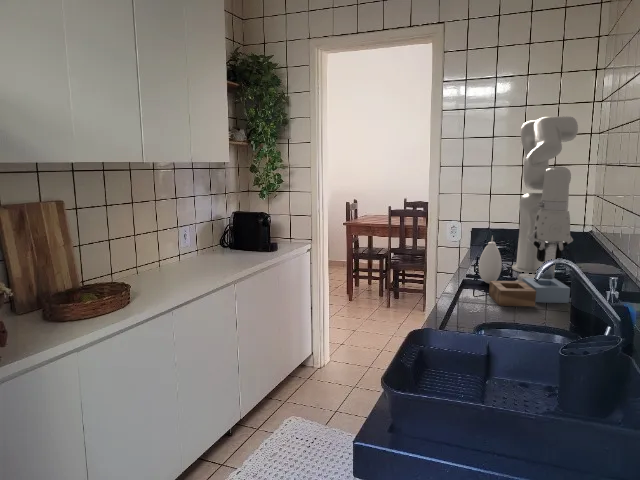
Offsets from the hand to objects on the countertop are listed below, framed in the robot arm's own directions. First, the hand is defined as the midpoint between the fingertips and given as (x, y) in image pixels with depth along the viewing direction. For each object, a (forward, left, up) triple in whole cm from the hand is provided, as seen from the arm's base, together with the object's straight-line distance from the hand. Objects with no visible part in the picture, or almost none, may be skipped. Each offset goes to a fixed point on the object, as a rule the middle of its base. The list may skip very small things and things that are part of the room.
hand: (548, 260), depth 154 cm
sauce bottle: (-16, -13, -13) cm, 25 cm away
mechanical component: (-12, 0, -13) cm, 18 cm away
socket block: (0, 0, -13) cm, 13 cm away
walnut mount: (+4, -12, -13) cm, 18 cm away
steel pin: (0, 0, -6) cm, 6 cm away
